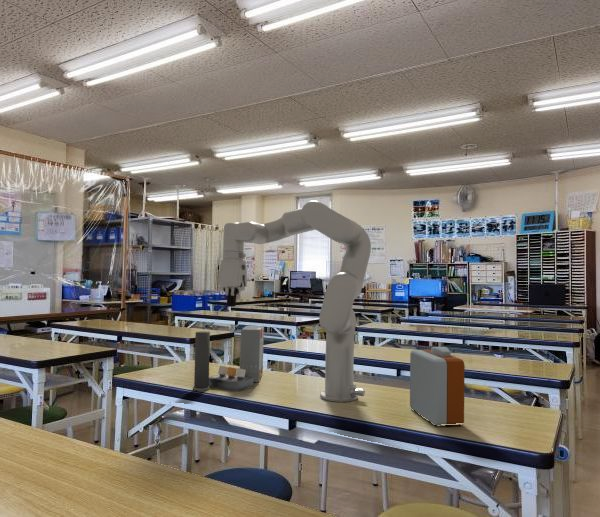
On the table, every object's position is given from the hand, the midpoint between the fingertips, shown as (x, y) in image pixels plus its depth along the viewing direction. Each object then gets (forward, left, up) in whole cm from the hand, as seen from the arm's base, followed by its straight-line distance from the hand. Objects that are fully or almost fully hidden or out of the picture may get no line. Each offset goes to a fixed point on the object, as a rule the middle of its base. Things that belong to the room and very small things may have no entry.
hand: (231, 306), depth 171 cm
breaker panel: (0, 0, -29) cm, 29 cm away
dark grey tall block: (+6, +9, -29) cm, 31 cm away
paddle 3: (+4, 0, -26) cm, 26 cm away
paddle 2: (0, 0, -26) cm, 26 cm away
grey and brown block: (-73, -2, -29) cm, 79 cm away
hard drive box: (+1, -15, -29) cm, 33 cm away
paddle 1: (-4, 0, -26) cm, 26 cm away
